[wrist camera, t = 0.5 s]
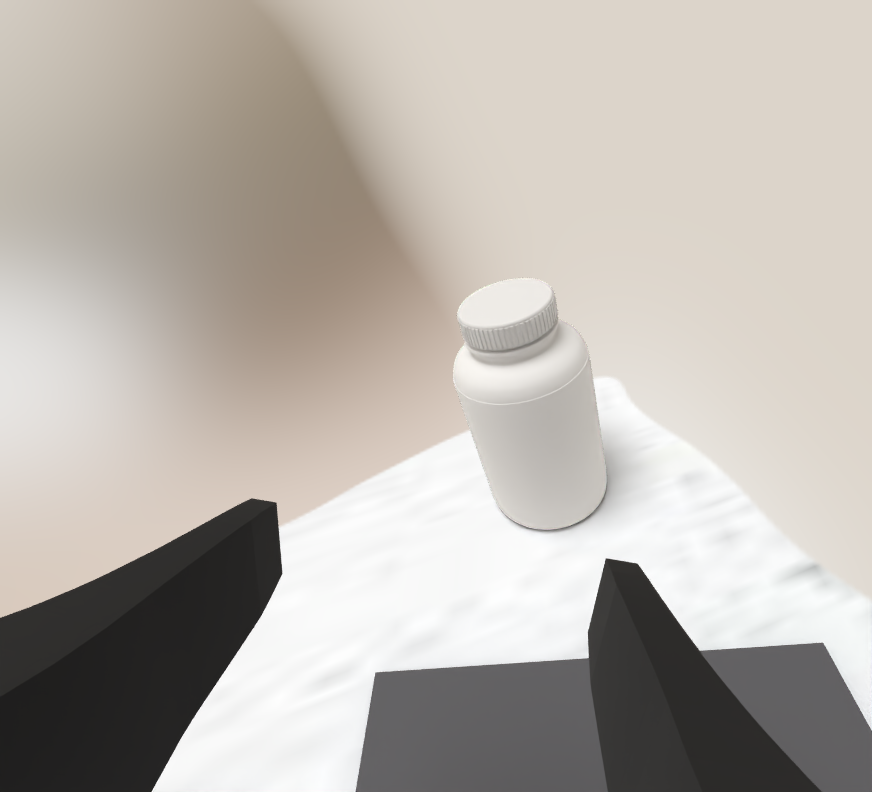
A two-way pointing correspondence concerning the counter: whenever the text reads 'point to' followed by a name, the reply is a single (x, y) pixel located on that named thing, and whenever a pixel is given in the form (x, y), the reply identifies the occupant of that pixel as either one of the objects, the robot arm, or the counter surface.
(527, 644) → the counter surface
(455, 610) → the counter surface
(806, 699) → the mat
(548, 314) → the pill bottle
